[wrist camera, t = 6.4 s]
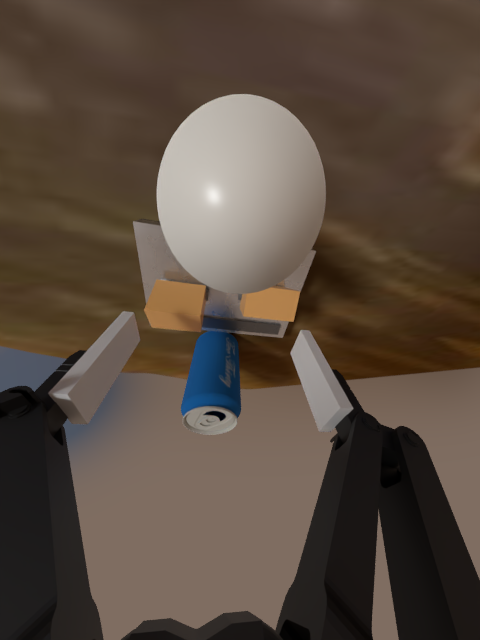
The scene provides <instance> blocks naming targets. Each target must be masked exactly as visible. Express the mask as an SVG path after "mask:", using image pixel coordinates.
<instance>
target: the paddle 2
mask: <svg viewBox="0 0 480 640" xmlns="http://www.w3.org/2000/svg"><path fill="white" fill-rule="evenodd" d="M299 295H300V291H297V290H293V289H290V288H286V287H279V286H273V287H270V288H268V289H265V290H262V291H259V292H254V293H248V294H238V300H241V302H240V310H241V312H242V314H243V316H244V317H253V318H262V319H271V320H280V321H289V322H294V318H295V313H296V309H297V304H298V300H299Z"/></svg>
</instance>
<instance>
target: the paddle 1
mask: <svg viewBox="0 0 480 640" xmlns="http://www.w3.org/2000/svg"><path fill="white" fill-rule="evenodd" d="M208 298H209V290H206V285H198V284H190V283H182V282H174V281H166V280H158V279H157V280H156V282H155V285H154V287H153V289H152V292H151V294H150V297H149V299H148V302H147V304H146V306H145V309H144V311H145V313H146V315H147V317H148V320H149V322H150V324H151V326H152V328H162V329H173V330H183V331H194V332H201V329H202V323H203V317H204V311H205V305H206V301H208Z"/></svg>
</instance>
